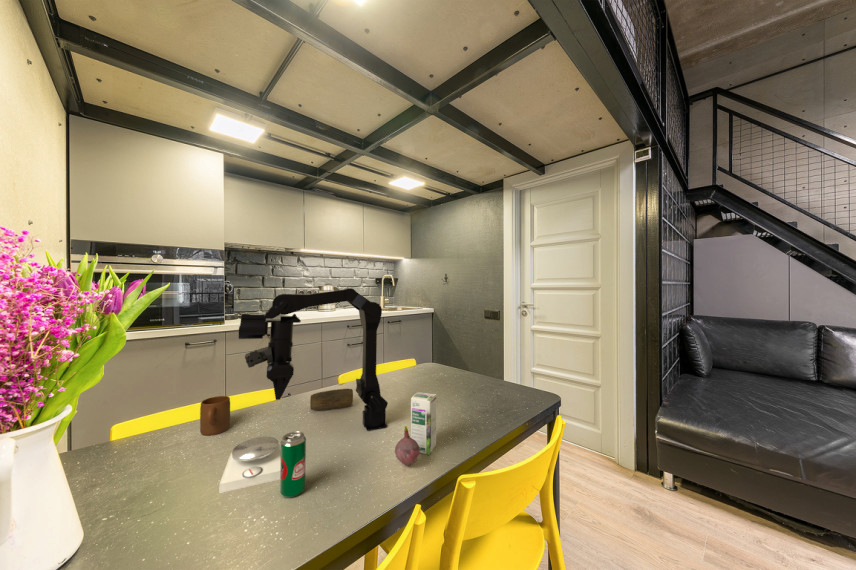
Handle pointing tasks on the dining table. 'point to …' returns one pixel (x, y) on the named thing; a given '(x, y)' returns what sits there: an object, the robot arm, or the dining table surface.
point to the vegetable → (407, 449)
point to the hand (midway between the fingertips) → (277, 394)
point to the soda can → (293, 464)
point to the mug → (214, 415)
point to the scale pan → (255, 449)
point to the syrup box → (424, 421)
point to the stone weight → (331, 399)
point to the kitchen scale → (250, 472)
